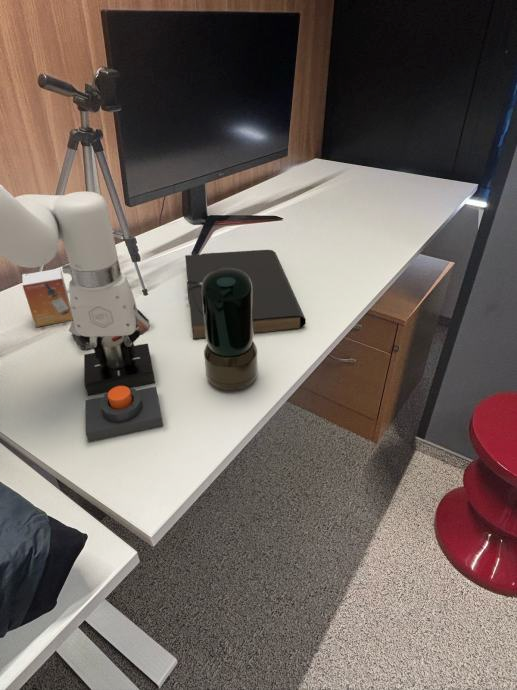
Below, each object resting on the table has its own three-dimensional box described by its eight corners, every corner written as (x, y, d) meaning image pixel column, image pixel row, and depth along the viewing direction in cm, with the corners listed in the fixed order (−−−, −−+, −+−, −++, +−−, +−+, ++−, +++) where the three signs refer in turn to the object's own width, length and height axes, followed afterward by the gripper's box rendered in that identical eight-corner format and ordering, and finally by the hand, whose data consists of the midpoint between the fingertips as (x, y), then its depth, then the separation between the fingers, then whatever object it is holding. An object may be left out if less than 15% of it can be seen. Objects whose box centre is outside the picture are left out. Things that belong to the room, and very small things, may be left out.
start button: (110, 411, 78) (107, 402, 77) (109, 397, 81) (107, 388, 79) (133, 407, 79) (131, 397, 77) (131, 393, 81) (129, 383, 80)
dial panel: (88, 396, 86) (84, 383, 84) (87, 366, 93) (83, 353, 91) (155, 383, 89) (152, 370, 87) (150, 355, 96) (147, 342, 94)
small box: (35, 328, 104) (21, 285, 98) (35, 315, 108) (20, 273, 102) (74, 320, 107) (62, 278, 100) (72, 308, 111) (60, 266, 105)
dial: (114, 371, 87) (108, 348, 84) (102, 362, 89) (96, 339, 86) (132, 361, 89) (128, 338, 86) (121, 353, 91) (115, 330, 88)
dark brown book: (184, 254, 124) (276, 248, 127) (185, 268, 126) (275, 262, 129) (190, 323, 97) (306, 313, 101) (192, 340, 100) (305, 329, 103)
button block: (88, 442, 77) (82, 424, 75) (88, 409, 83) (82, 392, 81) (163, 426, 80) (160, 408, 78) (157, 395, 86) (154, 378, 84)
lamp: (200, 391, 87) (188, 283, 74) (213, 359, 94) (204, 256, 82) (252, 396, 86) (249, 288, 73) (261, 364, 93) (260, 260, 80)
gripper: (36, 283, 75) (65, 374, 86) (144, 281, 75) (159, 372, 86) (52, 262, 81) (77, 349, 92) (151, 260, 81) (165, 347, 92)
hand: (117, 359), depth 89 cm, fingers closed on dial, 4 cm apart
